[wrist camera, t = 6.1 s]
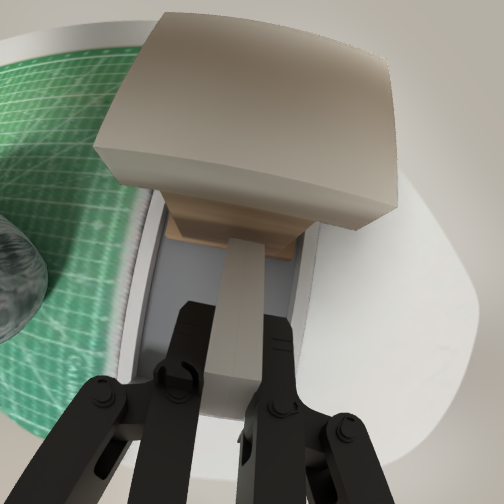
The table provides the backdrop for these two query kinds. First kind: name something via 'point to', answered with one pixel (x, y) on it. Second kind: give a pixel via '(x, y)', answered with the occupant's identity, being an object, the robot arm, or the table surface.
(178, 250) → the gray rectangular tray
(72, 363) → the table surface
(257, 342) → the robot arm
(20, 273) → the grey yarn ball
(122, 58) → the table surface
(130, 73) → the block
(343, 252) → the table surface
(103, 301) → the table surface
